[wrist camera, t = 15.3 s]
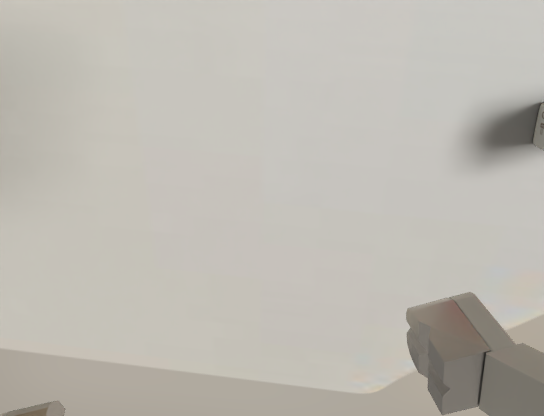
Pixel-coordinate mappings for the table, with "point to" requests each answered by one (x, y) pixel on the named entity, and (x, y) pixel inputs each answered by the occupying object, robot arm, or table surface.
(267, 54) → the table surface
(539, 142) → the skincare box
